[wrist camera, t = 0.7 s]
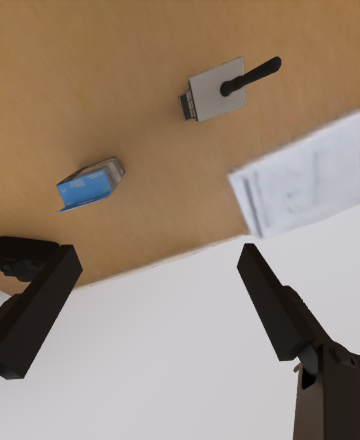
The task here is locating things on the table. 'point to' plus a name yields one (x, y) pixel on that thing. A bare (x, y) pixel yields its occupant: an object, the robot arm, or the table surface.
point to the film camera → (24, 257)
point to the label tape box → (90, 184)
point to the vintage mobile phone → (221, 88)
